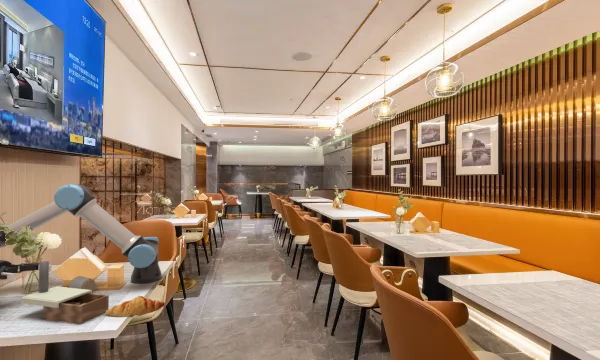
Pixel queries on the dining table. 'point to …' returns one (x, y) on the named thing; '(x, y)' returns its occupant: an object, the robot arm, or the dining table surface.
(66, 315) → the brown wooden box
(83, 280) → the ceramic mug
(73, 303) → the oak block
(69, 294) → the lid
